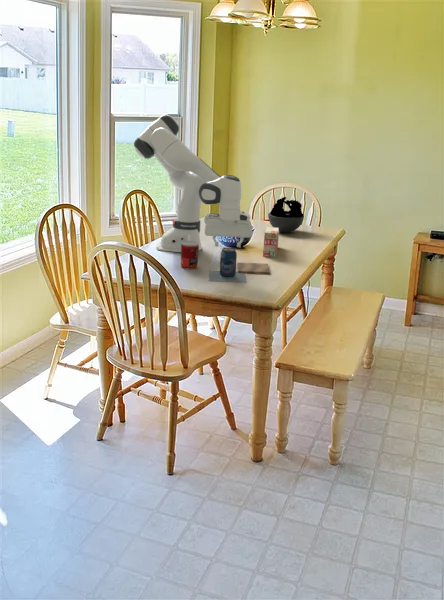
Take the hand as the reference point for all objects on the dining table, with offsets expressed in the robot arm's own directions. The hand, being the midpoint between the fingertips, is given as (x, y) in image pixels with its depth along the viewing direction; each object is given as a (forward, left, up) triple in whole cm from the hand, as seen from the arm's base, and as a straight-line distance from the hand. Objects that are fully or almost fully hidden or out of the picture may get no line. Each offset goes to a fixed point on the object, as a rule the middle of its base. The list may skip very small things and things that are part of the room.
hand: (227, 246), depth 291 cm
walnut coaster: (+13, +13, -13) cm, 23 cm away
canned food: (-16, +13, -14) cm, 25 cm away
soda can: (+1, 0, -13) cm, 13 cm away
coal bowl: (+35, +92, -14) cm, 100 cm away
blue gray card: (+1, 0, -13) cm, 13 cm away
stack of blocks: (+23, +47, -14) cm, 54 cm away
